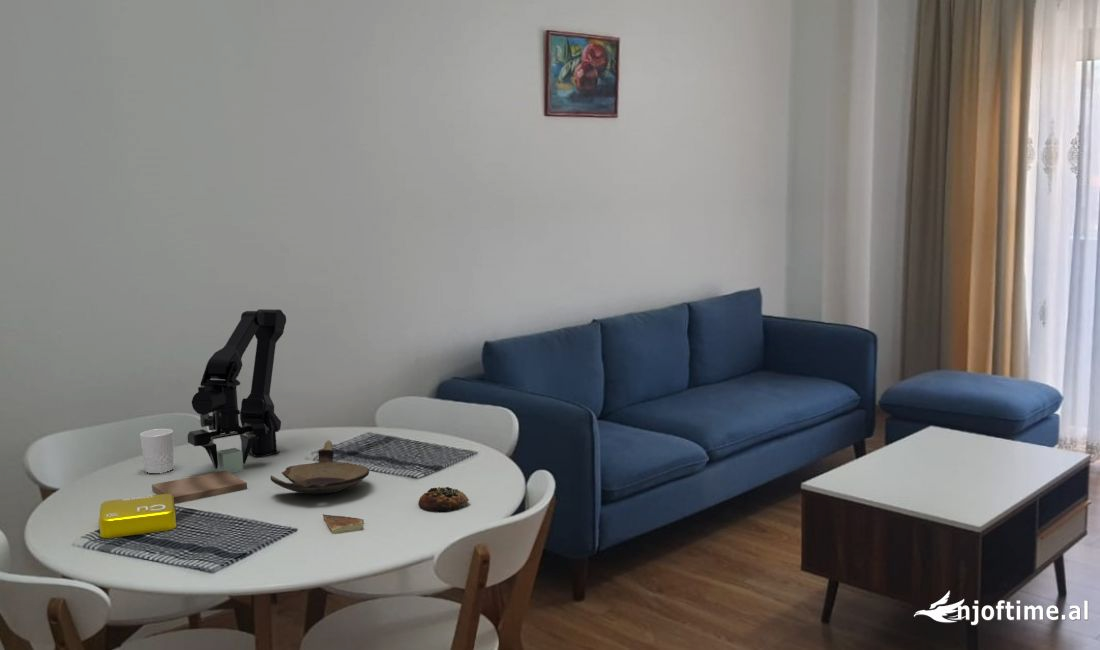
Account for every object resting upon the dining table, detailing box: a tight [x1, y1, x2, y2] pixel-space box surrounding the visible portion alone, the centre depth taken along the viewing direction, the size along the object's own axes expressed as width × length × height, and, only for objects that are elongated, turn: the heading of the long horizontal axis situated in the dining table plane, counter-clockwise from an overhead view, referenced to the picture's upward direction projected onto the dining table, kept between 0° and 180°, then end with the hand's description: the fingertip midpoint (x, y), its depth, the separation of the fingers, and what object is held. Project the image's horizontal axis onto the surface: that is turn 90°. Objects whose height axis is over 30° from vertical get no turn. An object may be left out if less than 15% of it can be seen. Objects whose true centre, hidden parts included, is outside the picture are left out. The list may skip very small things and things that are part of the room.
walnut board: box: [151, 471, 248, 505], centre depth 253 cm, size 18×14×2 cm
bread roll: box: [417, 486, 470, 513], centre depth 237 cm, size 11×11×5 cm
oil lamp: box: [269, 439, 370, 495], centre depth 252 cm, size 22×30×8 cm
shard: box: [322, 513, 365, 535], centre depth 226 cm, size 11×8×2 cm
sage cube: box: [216, 447, 244, 474], centre depth 269 cm, size 5×5×5 cm
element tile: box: [98, 494, 177, 539], centre depth 229 cm, size 15×15×5 cm
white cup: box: [139, 428, 175, 474], centre depth 270 cm, size 8×8×10 cm
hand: (229, 466), depth 270 cm, fingers open, 7 cm apart
